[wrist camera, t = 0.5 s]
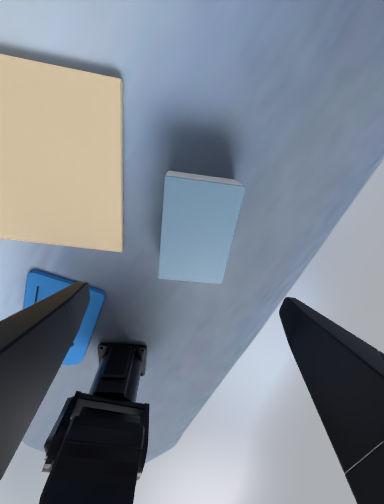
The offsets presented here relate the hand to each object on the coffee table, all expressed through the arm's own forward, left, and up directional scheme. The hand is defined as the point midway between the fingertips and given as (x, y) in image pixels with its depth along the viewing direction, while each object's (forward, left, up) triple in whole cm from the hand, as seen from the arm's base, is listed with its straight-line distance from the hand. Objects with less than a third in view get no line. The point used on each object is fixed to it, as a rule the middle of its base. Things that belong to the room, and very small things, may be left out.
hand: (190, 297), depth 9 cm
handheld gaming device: (-16, +14, -12) cm, 25 cm away
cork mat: (+3, +12, -12) cm, 17 cm away
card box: (0, -1, -12) cm, 12 cm away
